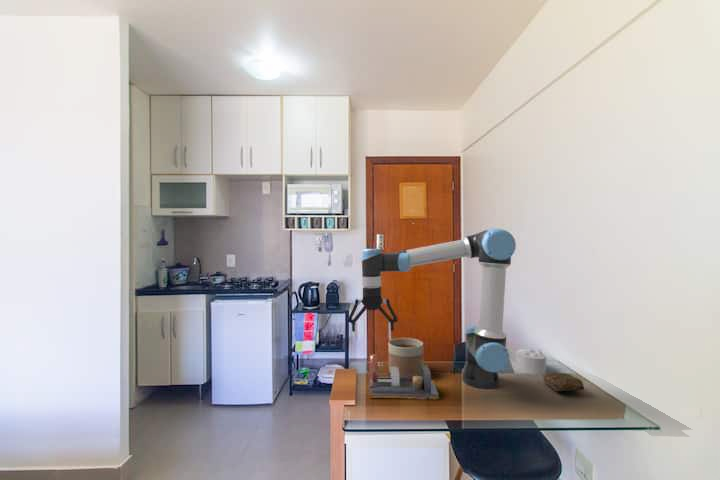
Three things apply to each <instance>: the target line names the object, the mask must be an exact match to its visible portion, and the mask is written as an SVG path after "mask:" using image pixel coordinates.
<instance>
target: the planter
mask: <svg viewBox="0 0 720 480" xmlns="http://www.w3.org/2000/svg"><path fill="white" fill-rule="evenodd" d="M387 345H388V371H389V374H391V367H398V370H399V377H411V378H412V379H413V376H421V365H424V342H423V341H421V340H419V339H416V338H413V337H412V338H410V337H398V338H391V340H389V341H388V344H387Z"/></svg>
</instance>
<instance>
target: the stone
mask: <svg viewBox="0 0 720 480" xmlns="http://www.w3.org/2000/svg"><path fill="white" fill-rule="evenodd" d="M542 377H543V381H544V383H545V384H546V385H547V386H549V388H552V389H553V390H554V391H555V392H565V391H567V392H568V391H569V392H570V391H584V390H585V387H584V383H583V381H582V380H581V379H580V378H579V377H576V376H574V375H571V374H570V373H563V372H556V371H555V372H553V371H550V372H546V374H543V375H542Z"/></svg>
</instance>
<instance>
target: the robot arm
mask: <svg viewBox="0 0 720 480" xmlns="http://www.w3.org/2000/svg"><path fill="white" fill-rule="evenodd" d="M516 248H517V245H516V240H515V237H514V236H513V235H512V234H511V233H510V232H509V231H508V230H506V229H502V228H492V229H491V228H490V229H487V230H483V231H480V232H477V233H475V234H472V235H467V236H464V238H462V239H458V240H454V241H448V242H442V243H437V244H431V245H426V246H421V247H416V248H411V249H406V250H401V251H394V252H389V253H388V252H387V253H386V252H385V253H383V252H381V249H380V248H364V249H363V250H362V251H361V271H362V272H361V273H362V274H361V277H362V279H361V280H362V281H361V282H362V286H363V287H362V299H361V298H360V299H359V298H355V299H354V305H353V307H352V310H351V312H350V314H349V316H348V318H347V319H346V322H347V323H351V331H352V332H354V339H355V340H354V341H358V322H357V321H358V320H359V319H360V317H361V316H362V315H363V314H364V312H365V311H366V310H368V311H377V310H379V311H380V312H381V313H382V315H383V316H384V317H385V318H386V319H387V320H388V340H389V341H390V340H392V332H394V330H395V328H394V327H395V326H394V324H395V323H397V322H398V321H399V319H398V317H397V315H396V313H395V311H394V309H393V307H392V306H391V304H390V298H389V297H386V298H382V288H381V286H382V275H381V273H385V272H387V273H391V272H393V273H394V272H395V273H396V272H398V273H403V272H404V273H405V272H410V271H411V267H415V266H416V267H417V266H421V265H422V266H423V265H428V264H432V263H433V264H434V263H438V262H440V263H441V262H445V261H450V260H451V261H452V260H454V259H460V258H468V259H474V258H478V264H479V265H480V266H481V283H480V284H481V286H480V303H479V319H478V326H468V327H466V328H465V333H464V335H465V364H464V366H463V371H462V372H461V380H462V382H463V383H464V384H466V385H469V386H471V387H474V388H477V389H478V388H479V389H494V388H497V387H499V386H500V376H499V373H498V372H501V371H502V370H504V369H505V368H507V366H508V365H509V362H510V353H509V350H508V348H507V334H506V333H505V332H504V331H503V329H504V328H503V326H504V310H505V308H504V307H505V296H506V295H505V294H506V293H505V292H506V291H505V290H506V278H507V275H506V274H507V269H508V267H510V266H511V262H512V256H513V255H514V254H515V251H516ZM361 303H362V305H363V306H362V308H361V309H360V310H359V312H357V314H356V316H354V314H355V312H356V310H357V308H358V306H359V305H360V304H361ZM382 304H384V305H386V307H387V308H388V310H389V312H390V314H391V316H392V317H393V318H392V317H391V316H390V315H389V313H388V312H387V311H386V310H385V309H384V308H383V306H382Z"/></svg>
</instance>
